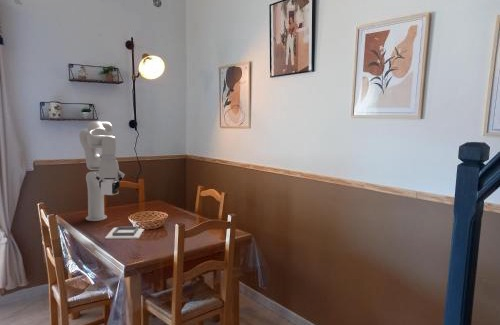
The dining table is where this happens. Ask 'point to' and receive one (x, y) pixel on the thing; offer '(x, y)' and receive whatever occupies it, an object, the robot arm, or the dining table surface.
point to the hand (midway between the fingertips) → (109, 188)
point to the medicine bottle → (109, 187)
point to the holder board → (125, 233)
